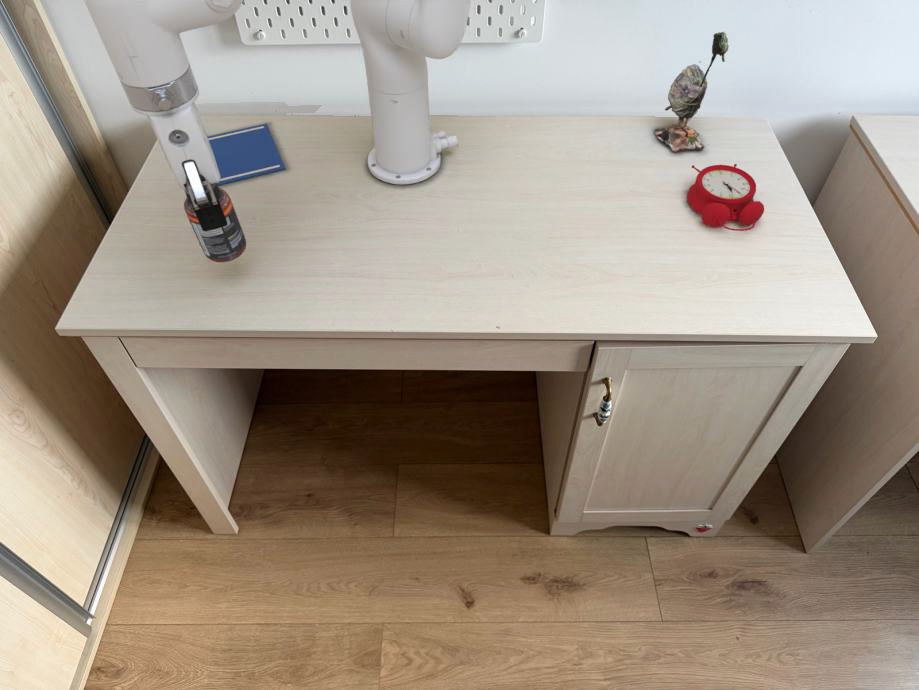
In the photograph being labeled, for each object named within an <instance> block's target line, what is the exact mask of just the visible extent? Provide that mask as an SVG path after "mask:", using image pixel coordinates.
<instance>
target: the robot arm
mask: <svg viewBox="0 0 919 690" xmlns="http://www.w3.org/2000/svg"><path fill="white" fill-rule="evenodd" d="M83 1H84V3H85V6H86V8H87V10H88V13H89V15H90V17H91V19H92V22H93V23H94V26H95V28H96V30H97V33H98V35H99V37H100V39H101V42H102V44H103V46H104V48H105V50H106V53H107V55H108V57H109V59H110V61H111V64H112V66H113V68H114V70H115V73H116V75H117V77H118V80H119V82H120V85H121V87H122V89H123V91H124V93H125V95H126V98H127V99H128V102H129V104H130V106H131V109H132V110H133V111H135V112H136V113H137V114H139V115H143V116H146V117H147V119H148V121H149V123H150V126H151V128H152V130H153V133H154V135H155V137H156V140H157V142H158V145H159V146H160V149H161V152H162V153H163V155H164V158H165V160H166V162H167V164H168V166H169V168H170V170H171V172H172V175H173V176H174V179H175V180H176V182H177V185H178V186H179V189H181V190H182V191H184V190H185V191H187V190H188V192H189V195H190V197H191V200H192V203H193V205H192V206H193V209H194V211H195V214H196V216H197V218H198V221H199V223H200V225H201V228H202V230H203V231H209V230H213V229H217V228H220V227H224V226H226V225H227V220H226V218H225V215H224V212H223V210H222V207H221V205H220V202H219V199H216V198H215V195H214V192H213V189H212V187H211V184H213V183H218V182H219V181H220V178H221V177H220V173H219V170H218V167H217V163H216V160H215V157H214V154H213V151H212V148H211V145H210V143H209V140H208V135H207V132H206V129H205V126H204V123H203V121H202V118H201V115H200V112H199V110H198V108H197V105H196V103H195V102H196V101H197V99H198V97H199V96H200V89H199V85H198V83H197V81H196V78H195V75H194V72H193V69H192V66H191V63H190V62H189V61H190V60H189V58H188V55H187V52H186V49H185V47H184V44H183V41H182V38H181V35H180V34H182V33H184V32H188V31H193V30H198V29H201V28H206V27H210V26H213V25H214V26H215V25H217V24H220V23H223V22H225V21H226V20H228V19H230V18H231V17H232V16H234V15H235V14H236V13H237V12H238V11H239V9H240V7H242V4H243V2H244V0H83ZM470 8H471V0H350V12H351V16H352V20H353V24H354V26H355V27H354V28H355V30H356V32H357V37H358V39H359V42H360V46H361V50H362V55H363V60H364V68H365V77H366V83H367V84H366V85H367V93H368V102H369V110H370V118H371V126H372V135H373V143H374V147H373V148H372V149H371V150H370V152H369V153H368V156H367V166H368V169H369V172H370V173H371V174H372V176H373V177H375V178H376V179H378V180H380V181H382V182H385V183H387V184H393V185H413V184H417V183H420V182H424V181H425V180H428V179H430V178H431V177H432V176H433V175H435V174H436V173H437V172H438V170H439V168H440V166H441V162H442V161H441V153H442V150H445V149H453V148H455V147H458V146H459V140H458V136H456V134H452V135H449V136H448V135H446V131H445V130H441V131H437V132H433V133H432V132H431V121H430V120H431V119H430V100H429V99H430V97H429V72H428V70H429V69H428V62H427V58H429V59H433V60H443V59H446V58H448V57H451V56H452V55H453V54H454V53H455V52H456V51H457V50H458V49H459V47H460V45H461V44H462V41H463V39H464V36H465V32H466V29H467V26H468V19H469V14H470ZM200 176H204V177H205V179H203V180H201V179H200ZM188 181H190V183H189V182H188ZM210 183H211V184H210ZM204 186H207V189H208V192H209V194H208V193H207V194H206V193H205V190H204V188H203V187H204ZM185 191H184V192H185Z"/></svg>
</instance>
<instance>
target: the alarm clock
mask: <svg viewBox="0 0 919 690" xmlns="http://www.w3.org/2000/svg"><path fill="white" fill-rule="evenodd" d="M691 169H694V170H695V171H696V172H697V176H696V178H695V181H694V183H693V184H692V185H691V186H690V187H689V188H688V190H687V194H686V199H687V203H688V205H689V206H690V208H691V209H692V210H693V211H695V212H696V214H698V215H700V216H701V217H700V219H701V221H702V222H703V224H705V225H706V226H707V227H710V228H719V227H723V228H724V229H726V230H729V231H736V232H738V231H739V232H743V231H749V230H752V229H754V228H755V225H756V223H757V222H758V221H759V220H761V218H762V217H763V215H764V212H765V206H764V204H763V202H761V201H760V200H755V201H754V197H755V195H756V192H757V183H756V181H755V179H754V178H753V176H751V175H750V174H749V173H748V172H746V171H745V170H743V169H741V168H739V167H738V165H737V163H734V164H733V166H732V165H726V164H716V165H715V164H713V165H708V166H707V167H704V168H702V169H701V170H700V169H698V168H697V167H696V166H695V165H691ZM733 222H738V223H739V224H740V225H741V226H743V227H744V226H745V227H747V228H731V227H729V226H726V224H727V223H733ZM751 225H752V226H751ZM748 226H750V227H748Z"/></svg>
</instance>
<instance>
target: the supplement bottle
mask: <svg viewBox="0 0 919 690" xmlns="http://www.w3.org/2000/svg"><path fill="white" fill-rule="evenodd" d="M200 179H201V180H203V179H205V177H204V176H200ZM188 182H189V183H190V181H188ZM210 184H211V183H210ZM211 187H212V189H213V192H214V195H215V198H216V199H219V202H220V205H221V207H222V210H223V212H224V215H225V218H226V220H227V225H226V226H224V227H220V228H217V229H213V230H209V231H203V230H202V228H201V225H200V223H199V221H198V218H197V216H196V214H195V211H194V209H193V206H192V205H193V203H192V200H191V197H190V195H189V192H188V190H187V191H185V190H183V191H184V193H185V196H186V198H185V199H184V202H183V209H184V212H185V214H186V217H187V219H188V221H189V224H190V225H191V227H192V230H193V232H194V234H195V236H196V238H197V241H198V243H199V246H200V248H201V249H202V253H203V254H204V255H205V257H206V259H208V260H210V261H212V262H215V263H228V262H231V261H234V260H237V258H240V256H241V255H242V254H243V253H244V252H245V251H246V250H247V249H246V248H247V240H246V237H245V234H244V230H243V228H242V225H241V224H240V220H239V218H238V215H237V212H236V210H235V207H234V205H233V202H232V199H231V196H230V195H229V193H228V191H226V190H225V189H224V188H222V187H219V186H217V184H216V183H213V184H211ZM203 188H204V190H205V193H206V194H207V193H208V194H209V192H208V189H207V186H204V187H203Z"/></svg>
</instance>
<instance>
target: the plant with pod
mask: <svg viewBox="0 0 919 690" xmlns="http://www.w3.org/2000/svg"><path fill="white" fill-rule="evenodd" d="M728 43H729V38H728V36H727V33H726V32H725V31H721V32H715V33H714V34H713V40H712V46H711V53H712V54H711V55H712V56H711V60H710V63H709V65H708V68H707V69H706V71H705V72H704V70H702V69H701V68H700V66H699V65H698V64H695V63H693V64H691V65H687V66H686V67H685V69H684V68H683V69H682V70H681V72H680V73H679V74H678V75H677V76H676V78H675V79H674V80H673V82H672V83H671V85H670V89H669V90H668V95H667V100H668V102H669V105H668V106H666V107H665V108H664V111H666V112H667V111H669V110H670V109H671V112H673V113H674V114H675V115H676V116H677V117H678V120H677V125H676V124H675V125H672V126H669V127H662V128H656V129H654V130H653V131H654V134H655V135H656V137H657V138H658V140H659V141H661V142H665V145H667V146H669V147H670V148H671V150H672V152H676V153H677V152H679V151H680V152H682V151H683V150H692V151H694V150H701V151H702V150H704V149H705V147H706V146H704V144H703V143H702V139H701V138H702V136H701V135H700V133H699V132H698V131H696V130H695V129H693V128H692V127H691V126H689V125H688V123H689V122H690V121H691V119H692V118H693V117H695V115H696V114H697V113H698V112H699V111H698V110H700V109H701V105H702V102H703V101H704V98H705V95H706V93H707V92H706V91H707V90H708V81H707V76H708V74H709V71H710V68H711V67H712V65H713V64H714V61H715V60H716V57H717V55H719V57H721V62H723V63H724V62H726V60H725V55H726V53H727V52H728V51H729V47H730V46H729V44H728ZM699 63H700V64H701V63H702V61H699Z"/></svg>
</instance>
